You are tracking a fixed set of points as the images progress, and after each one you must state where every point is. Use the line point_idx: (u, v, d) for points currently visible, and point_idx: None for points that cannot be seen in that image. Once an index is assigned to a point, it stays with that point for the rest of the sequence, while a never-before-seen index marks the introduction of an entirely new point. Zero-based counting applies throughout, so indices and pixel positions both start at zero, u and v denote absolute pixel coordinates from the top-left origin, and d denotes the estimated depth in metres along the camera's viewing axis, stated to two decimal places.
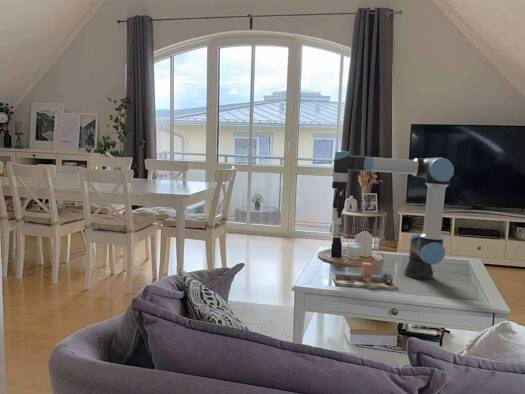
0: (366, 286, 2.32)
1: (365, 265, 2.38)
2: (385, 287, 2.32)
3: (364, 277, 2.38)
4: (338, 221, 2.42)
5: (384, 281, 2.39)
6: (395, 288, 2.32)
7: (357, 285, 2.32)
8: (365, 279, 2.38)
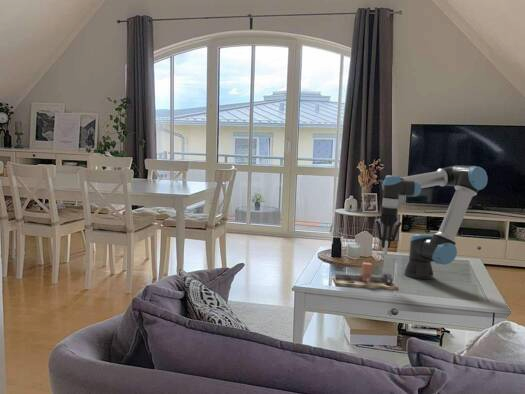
0: (366, 286, 2.32)
1: (365, 265, 2.38)
2: (385, 287, 2.32)
3: (364, 277, 2.38)
4: (383, 251, 2.39)
5: (384, 281, 2.39)
6: (395, 288, 2.32)
7: (357, 285, 2.32)
8: (365, 279, 2.38)
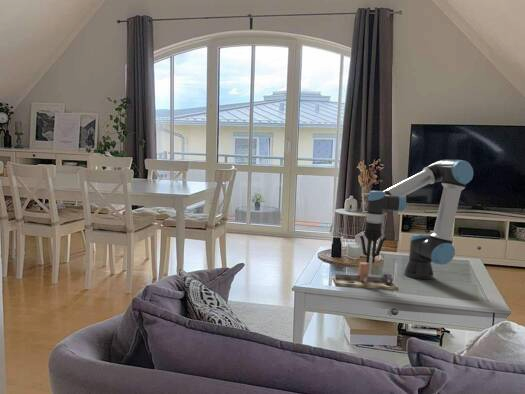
0: (366, 286, 2.32)
1: (362, 265, 2.38)
2: (385, 287, 2.32)
3: (362, 277, 2.38)
4: None
5: (384, 281, 2.39)
6: (395, 288, 2.32)
7: (357, 285, 2.32)
8: (362, 279, 2.38)
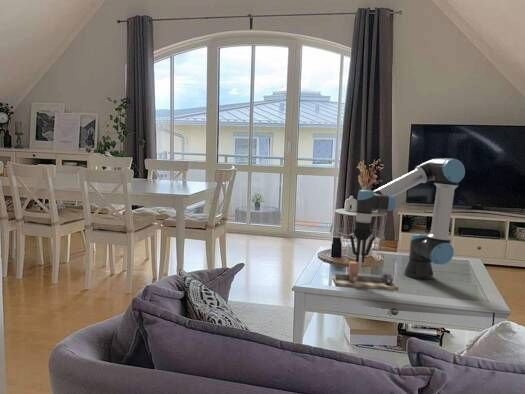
0: (366, 286, 2.32)
1: (352, 264, 2.38)
2: (385, 287, 2.32)
3: (351, 276, 2.38)
4: None
5: (384, 281, 2.39)
6: (395, 288, 2.32)
7: (357, 285, 2.32)
8: (352, 278, 2.38)
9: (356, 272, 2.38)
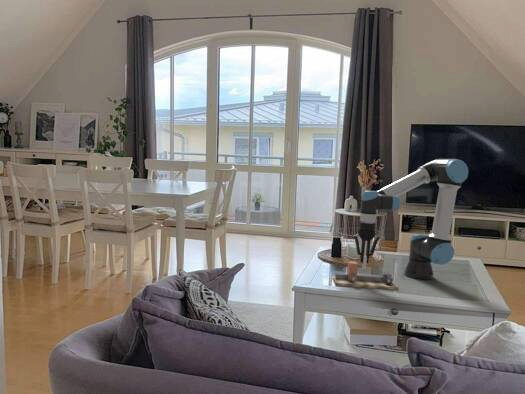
0: (366, 286, 2.32)
1: (351, 264, 2.38)
2: (385, 287, 2.32)
3: (350, 276, 2.38)
4: (362, 266, 2.40)
5: (384, 281, 2.39)
6: (395, 288, 2.32)
7: (357, 285, 2.32)
8: (351, 278, 2.38)
9: (355, 272, 2.38)
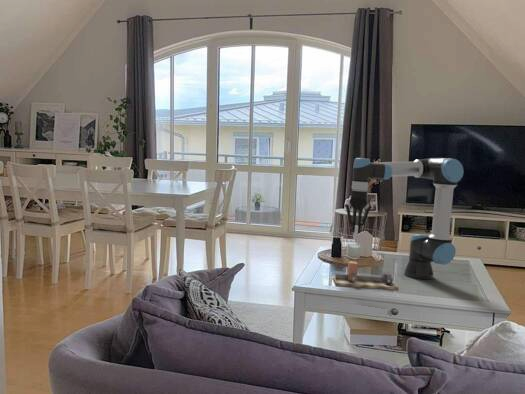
0: (366, 286, 2.32)
1: (351, 264, 2.38)
2: (385, 287, 2.32)
3: (350, 276, 2.38)
4: (353, 236, 2.34)
5: (384, 281, 2.39)
6: (395, 288, 2.32)
7: (357, 285, 2.32)
8: (351, 278, 2.38)
9: (355, 272, 2.38)
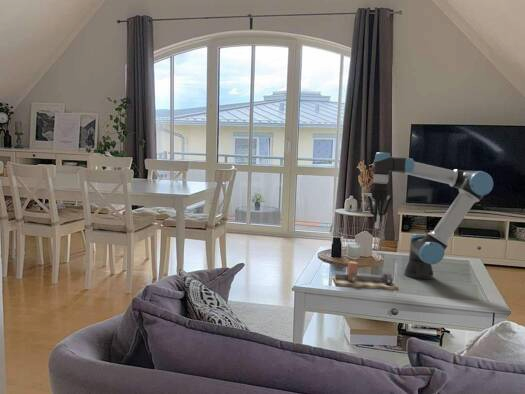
0: (366, 286, 2.32)
1: (351, 264, 2.38)
2: (385, 287, 2.32)
3: (350, 276, 2.38)
4: (375, 225, 2.50)
5: (384, 281, 2.39)
6: (395, 288, 2.32)
7: (357, 285, 2.32)
8: (351, 278, 2.38)
9: (355, 272, 2.38)
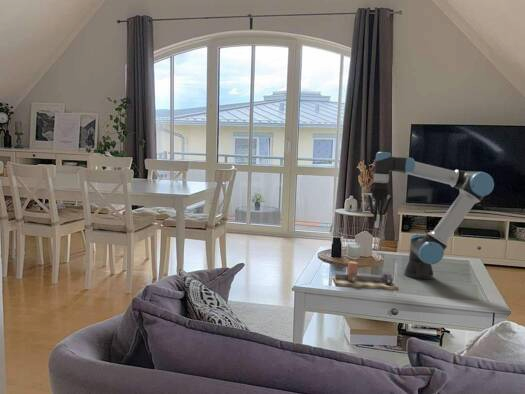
0: (366, 286, 2.32)
1: (351, 264, 2.38)
2: (385, 287, 2.32)
3: (350, 276, 2.38)
4: (375, 224, 2.51)
5: (384, 281, 2.39)
6: (395, 288, 2.32)
7: (357, 285, 2.32)
8: (351, 278, 2.38)
9: (355, 272, 2.38)
